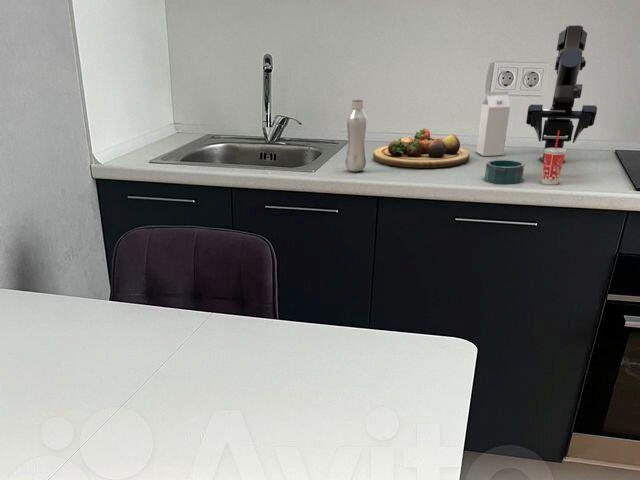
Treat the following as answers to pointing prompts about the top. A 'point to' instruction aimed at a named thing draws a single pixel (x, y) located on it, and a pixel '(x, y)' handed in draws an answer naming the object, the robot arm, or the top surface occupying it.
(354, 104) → the plastic bottle
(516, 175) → the pot
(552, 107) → the robot arm
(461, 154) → the wooden plate
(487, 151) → the milk carton
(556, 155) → the beverage cup
